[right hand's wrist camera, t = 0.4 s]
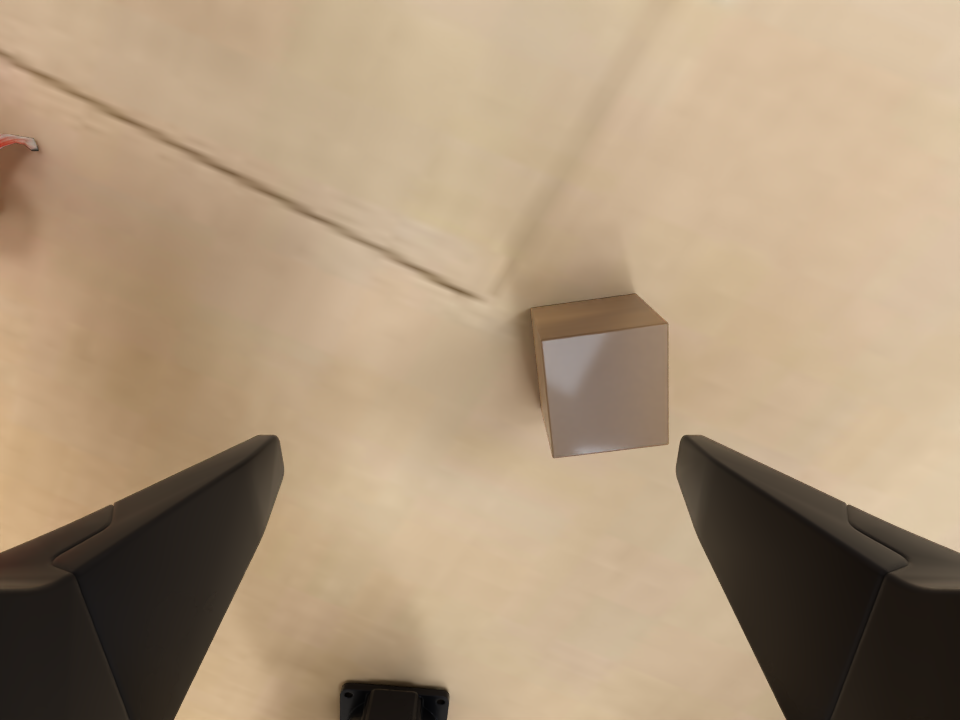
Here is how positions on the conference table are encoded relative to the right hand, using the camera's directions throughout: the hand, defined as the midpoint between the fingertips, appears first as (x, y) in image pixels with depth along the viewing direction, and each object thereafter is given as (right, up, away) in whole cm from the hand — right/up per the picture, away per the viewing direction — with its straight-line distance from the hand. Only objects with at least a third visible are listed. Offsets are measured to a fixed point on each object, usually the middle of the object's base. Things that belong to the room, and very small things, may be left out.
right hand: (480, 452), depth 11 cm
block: (+5, +2, +11) cm, 13 cm away
